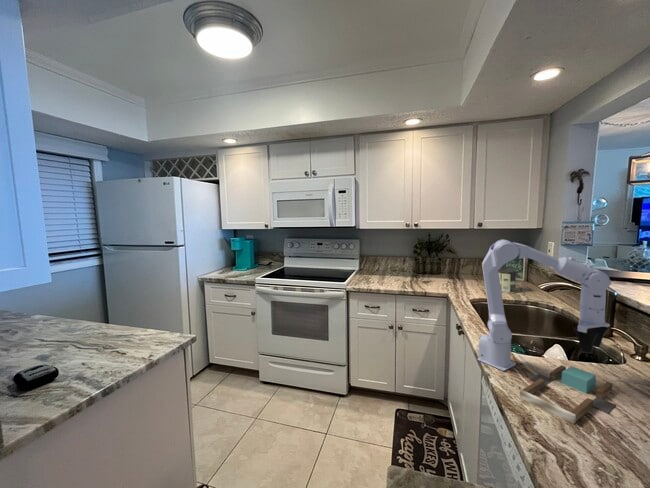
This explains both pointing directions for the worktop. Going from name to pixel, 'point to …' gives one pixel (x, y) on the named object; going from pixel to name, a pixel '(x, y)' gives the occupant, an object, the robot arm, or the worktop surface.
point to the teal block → (578, 379)
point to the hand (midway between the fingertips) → (590, 348)
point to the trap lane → (564, 414)
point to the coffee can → (507, 280)
